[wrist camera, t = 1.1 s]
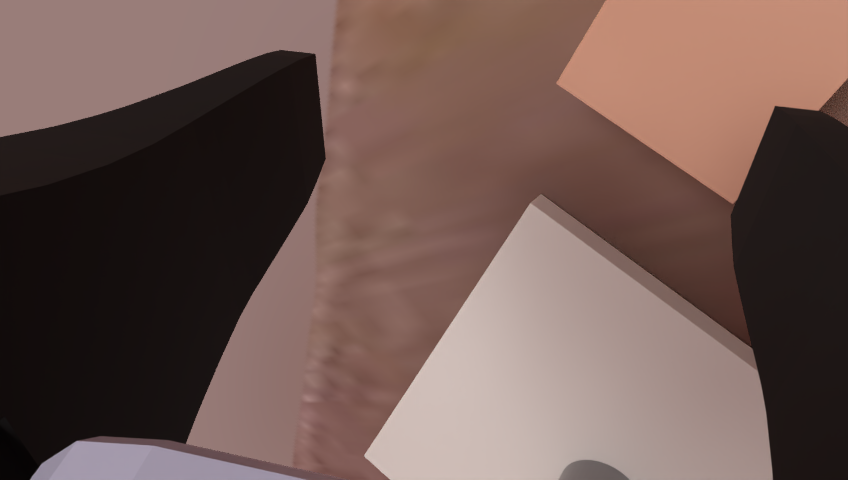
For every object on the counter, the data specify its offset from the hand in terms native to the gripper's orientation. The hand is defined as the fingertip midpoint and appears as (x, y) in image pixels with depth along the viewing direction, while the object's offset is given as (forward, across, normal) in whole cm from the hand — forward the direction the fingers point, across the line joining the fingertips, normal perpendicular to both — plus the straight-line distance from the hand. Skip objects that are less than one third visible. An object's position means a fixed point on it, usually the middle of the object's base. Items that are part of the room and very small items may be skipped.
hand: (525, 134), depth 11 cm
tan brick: (+10, -5, +2) cm, 12 cm away
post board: (+6, -5, +20) cm, 21 cm away
